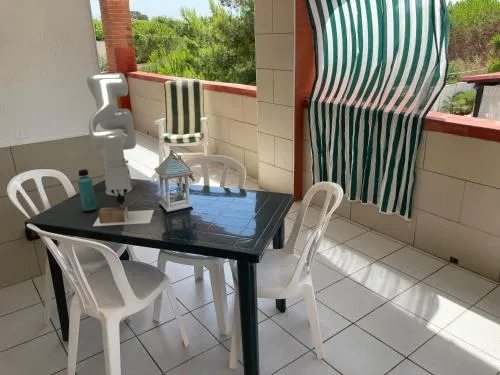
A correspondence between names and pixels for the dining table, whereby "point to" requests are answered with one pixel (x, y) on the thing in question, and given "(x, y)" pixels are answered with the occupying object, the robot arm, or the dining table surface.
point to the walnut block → (113, 215)
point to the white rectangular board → (131, 218)
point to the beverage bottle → (86, 191)
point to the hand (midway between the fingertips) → (121, 203)
